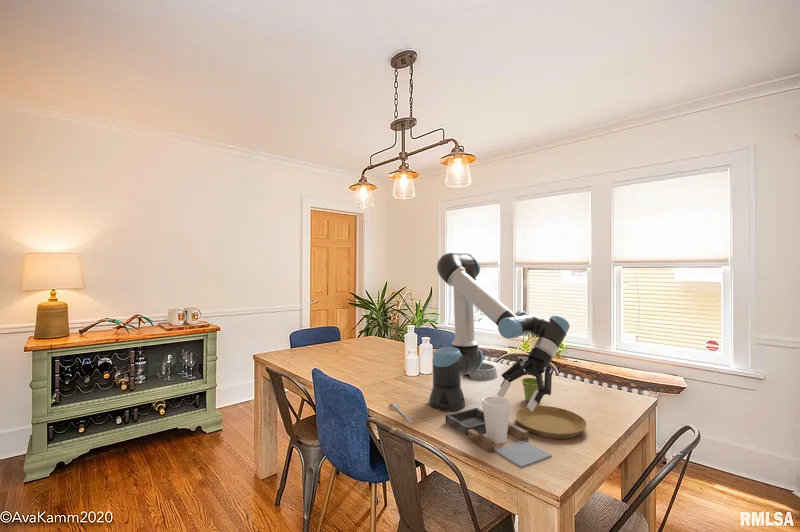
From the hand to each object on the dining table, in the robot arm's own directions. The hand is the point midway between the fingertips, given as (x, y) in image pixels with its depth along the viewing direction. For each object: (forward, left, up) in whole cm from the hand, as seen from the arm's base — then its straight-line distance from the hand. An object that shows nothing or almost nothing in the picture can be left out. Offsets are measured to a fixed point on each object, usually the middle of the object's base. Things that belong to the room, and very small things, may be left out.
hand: (513, 402), depth 126 cm
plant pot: (-21, +32, -12) cm, 40 cm away
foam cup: (-1, -7, -12) cm, 14 cm away
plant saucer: (0, +17, -12) cm, 21 cm away
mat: (+10, -7, -12) cm, 17 cm away
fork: (-38, -24, -12) cm, 46 cm away
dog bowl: (-61, +38, -12) cm, 73 cm away
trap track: (-8, -7, -12) cm, 16 cm away
